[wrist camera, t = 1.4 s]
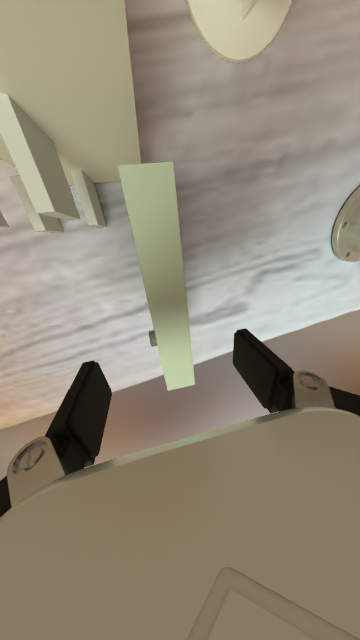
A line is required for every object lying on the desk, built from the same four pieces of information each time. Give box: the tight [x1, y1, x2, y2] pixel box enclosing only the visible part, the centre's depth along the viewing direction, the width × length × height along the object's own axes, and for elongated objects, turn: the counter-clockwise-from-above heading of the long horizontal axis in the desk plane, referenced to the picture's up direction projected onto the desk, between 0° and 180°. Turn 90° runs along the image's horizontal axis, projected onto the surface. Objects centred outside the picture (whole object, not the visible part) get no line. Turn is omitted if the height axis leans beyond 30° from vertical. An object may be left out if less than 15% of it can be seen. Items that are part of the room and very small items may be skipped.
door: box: [118, 161, 195, 390], centre depth 19 cm, size 4×18×14 cm, turn 6°
